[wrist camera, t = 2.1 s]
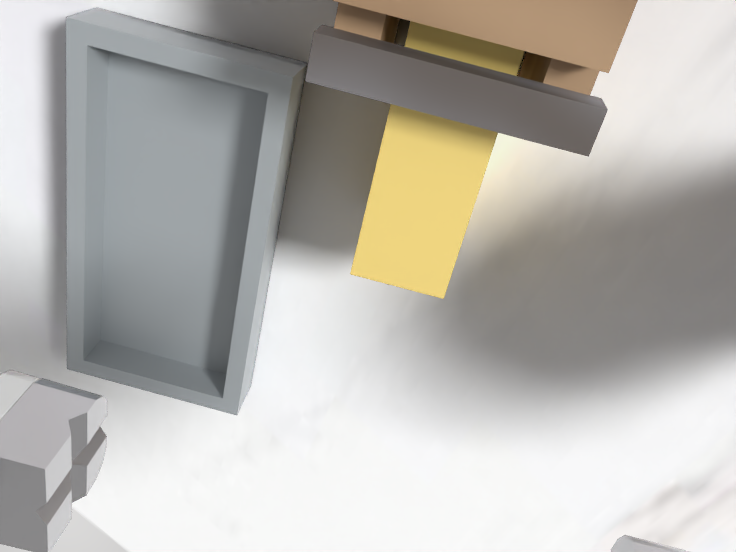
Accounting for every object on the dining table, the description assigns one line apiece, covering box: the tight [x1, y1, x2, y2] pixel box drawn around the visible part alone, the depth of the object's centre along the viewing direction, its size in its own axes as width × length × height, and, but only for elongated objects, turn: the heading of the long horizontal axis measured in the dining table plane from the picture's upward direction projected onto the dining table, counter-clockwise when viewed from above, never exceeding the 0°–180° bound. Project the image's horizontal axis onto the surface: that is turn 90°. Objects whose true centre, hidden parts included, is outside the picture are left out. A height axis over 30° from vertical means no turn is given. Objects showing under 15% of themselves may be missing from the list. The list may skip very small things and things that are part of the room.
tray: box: [66, 7, 307, 415], centre depth 26 cm, size 14×7×2 cm, turn 167°
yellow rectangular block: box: [350, 21, 524, 299], centre depth 21 cm, size 10×3×5 cm, turn 167°
